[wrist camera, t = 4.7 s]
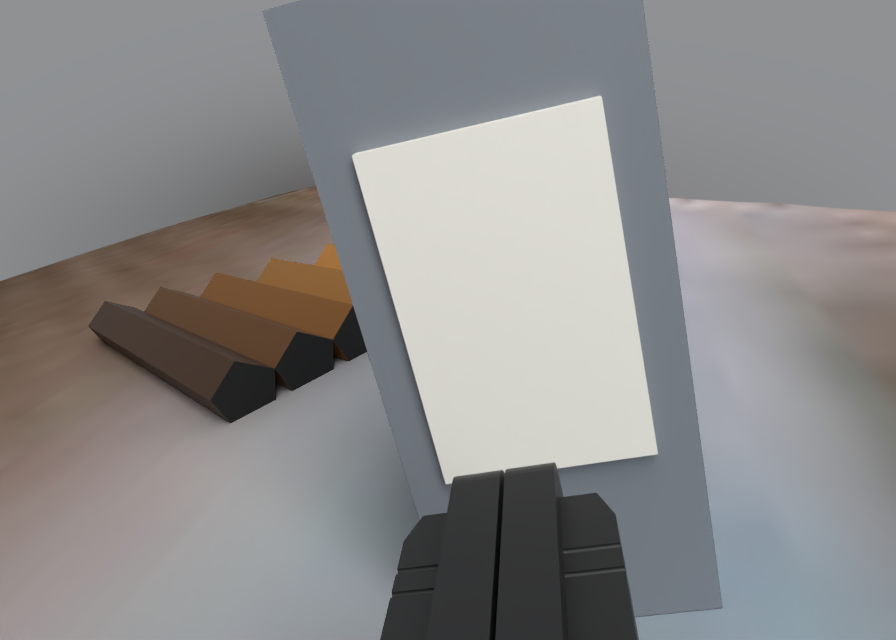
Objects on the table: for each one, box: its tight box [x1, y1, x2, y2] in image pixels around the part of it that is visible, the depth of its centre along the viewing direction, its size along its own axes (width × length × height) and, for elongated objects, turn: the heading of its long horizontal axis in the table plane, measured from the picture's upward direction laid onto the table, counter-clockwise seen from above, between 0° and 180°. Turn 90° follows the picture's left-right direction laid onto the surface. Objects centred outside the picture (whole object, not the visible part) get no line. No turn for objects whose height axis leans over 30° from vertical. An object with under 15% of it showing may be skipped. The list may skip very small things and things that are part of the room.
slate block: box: [263, 0, 722, 617], centre depth 18 cm, size 4×7×16 cm, turn 84°
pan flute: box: [89, 244, 367, 423], centre depth 51 cm, size 25×3×25 cm
